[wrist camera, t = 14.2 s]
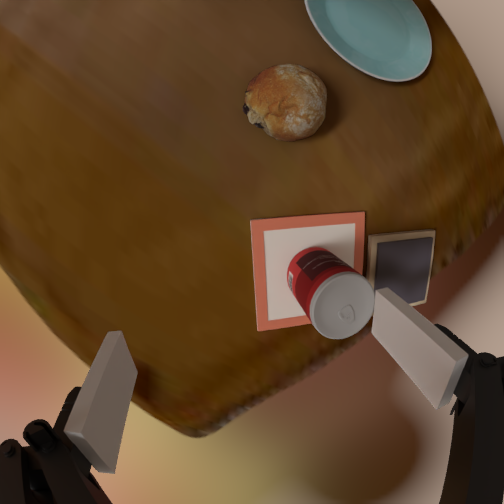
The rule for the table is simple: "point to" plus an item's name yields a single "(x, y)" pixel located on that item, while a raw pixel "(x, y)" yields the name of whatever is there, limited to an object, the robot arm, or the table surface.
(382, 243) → the ink pad
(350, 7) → the plate
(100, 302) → the table surface
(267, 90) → the bread roll
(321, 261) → the canned food
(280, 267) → the print sheet
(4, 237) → the table surface
